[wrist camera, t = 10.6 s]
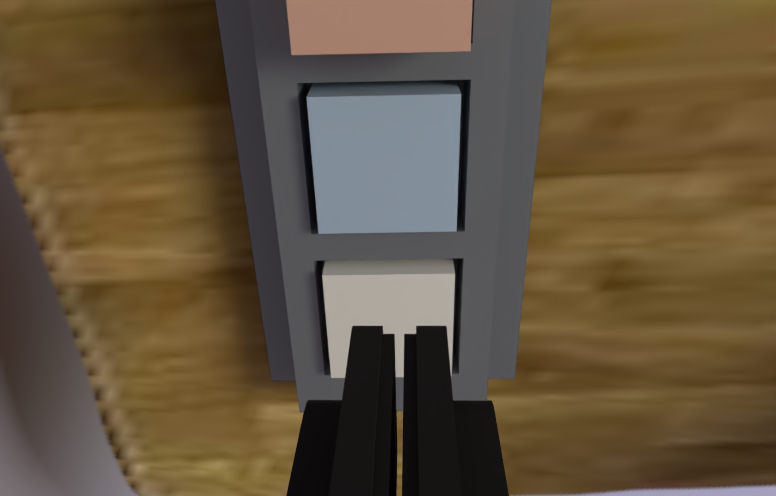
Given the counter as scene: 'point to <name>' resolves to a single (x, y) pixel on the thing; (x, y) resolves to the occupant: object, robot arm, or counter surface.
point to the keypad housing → (466, 246)
